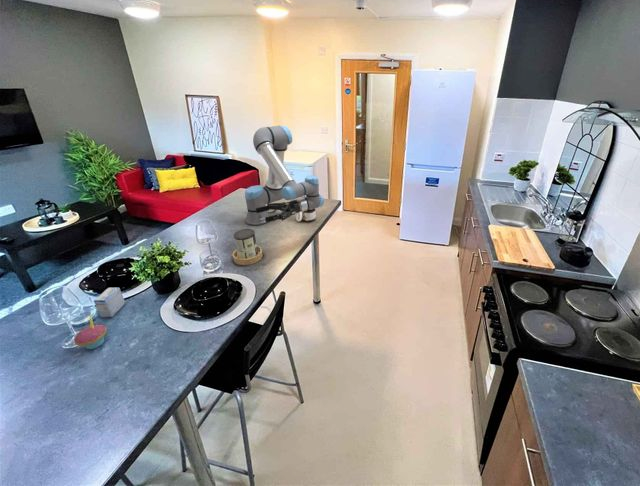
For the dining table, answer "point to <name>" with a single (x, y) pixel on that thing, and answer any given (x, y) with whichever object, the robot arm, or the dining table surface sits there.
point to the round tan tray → (248, 260)
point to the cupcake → (91, 335)
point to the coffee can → (245, 243)
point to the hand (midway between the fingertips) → (260, 215)
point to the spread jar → (306, 215)
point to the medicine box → (109, 302)
